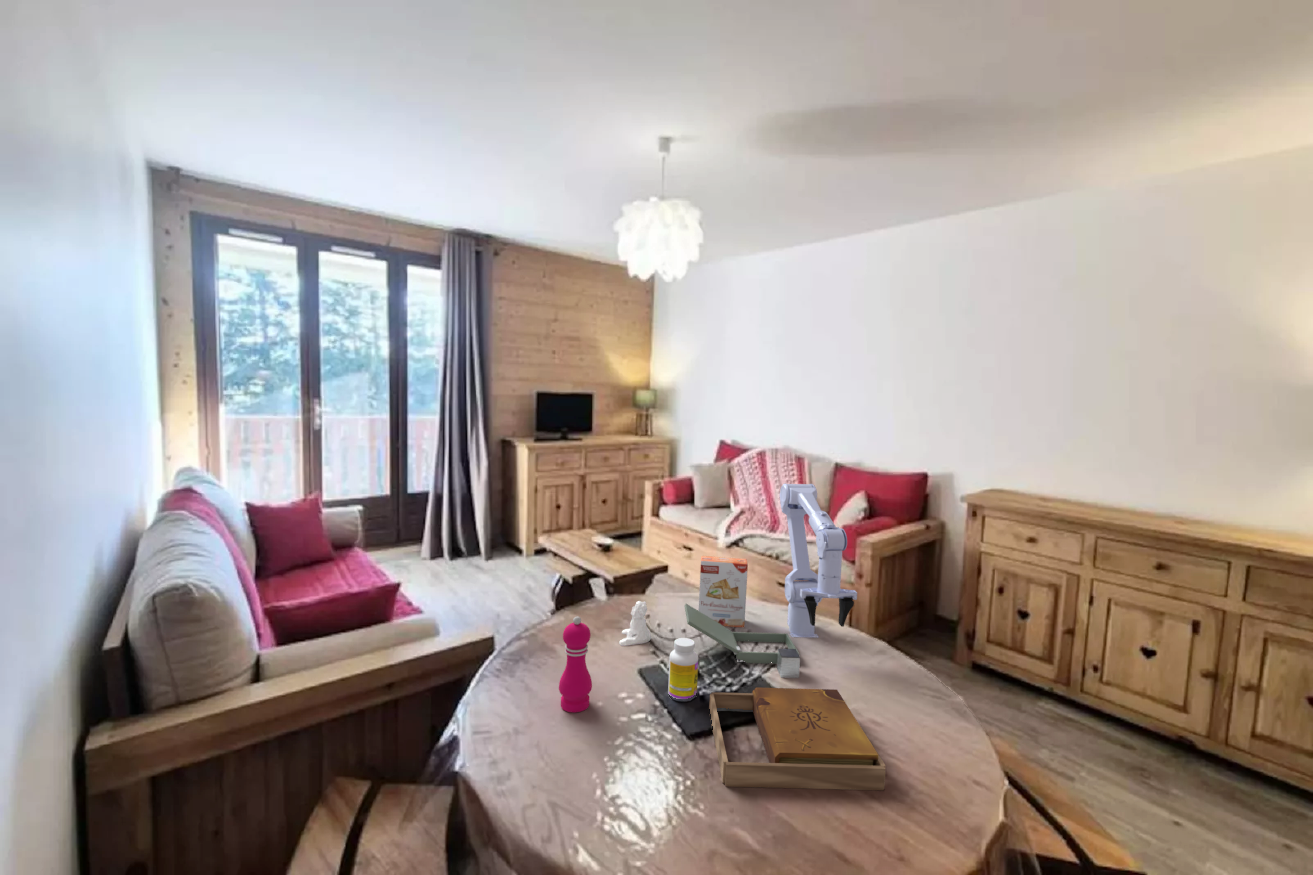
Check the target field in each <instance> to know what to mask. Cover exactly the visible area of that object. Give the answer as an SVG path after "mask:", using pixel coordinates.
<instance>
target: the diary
mask: <svg viewBox="0 0 1313 875" xmlns="http://www.w3.org/2000/svg"><path fill="white" fill-rule="evenodd" d="M751 693H753V716H754V719H755V723H756V725H757V728H758V731H759V735H760V737H761V741H762V743H763V747H764V749H765V750H764V751H765V754H766V756H767V760H768V763H790V764H830V765H870V766H873V760H878V755H879V753H878V751H877V750H876V749H874V748H875V747H874V745H873V743H872V742H871V741H870V739H869V738H867V737H868V736H867V734H866V732H864V730H863V728H862V726H861V724H859V722H858V721H857V718H856V717H855V716H854V714H853V712H852V711H851V709H850V708H849V706H848V705H847V703H846V701H845V699H844V698H843V697H842V695H841V694H840V692H839V690H838V689H834V688H833V689H829V688H828V689H827V688H797V687H796V688H793V687H792V688H787V687H784V688H783V687H758V686H757V687H755V688H754V689H753V690H752V692H751ZM865 734H866V735H865ZM872 745H873V746H872ZM876 751H877V752H876ZM877 753H878V754H877Z"/></svg>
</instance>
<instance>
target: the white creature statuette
mask: <svg viewBox="0 0 1313 875" xmlns="http://www.w3.org/2000/svg"><path fill="white" fill-rule="evenodd" d="M647 611H648V606H647V602H646V601H645V600H644V601H641V600H638V601H636V602H635V604H634V606H632V607H631V612H630V615H631V621H630V623H629V628H625V629H623V630H622V631H621V634H622V635H625V636H626V637H624V638H622V639H620V640H619V642H618V643H619V645H620V646H622V647H624V646H625V647H627V646H635V645H639V644H640V645H641V644H646V643H649V641H650V640H651V639H652V633H651V630H650V629H649V627H648V626H647V622H646V621H647V620H646V618H645V616H646V613H647Z"/></svg>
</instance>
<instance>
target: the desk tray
mask: <svg viewBox="0 0 1313 875" xmlns="http://www.w3.org/2000/svg"><path fill="white" fill-rule="evenodd" d="M710 692H711V691H710ZM708 704H709V706H708V710H709V709H710V714H711V719H710V721H711V720H712V724H711V727H712V726H713V730H712V733H713V739H714V744H715V746H714V747H715V751H716V755H717V761H718V768H719V772H720V777H721V782H722V784H724V785H725V787H726V788H727V787H728V788H729V787H732V788H734V787H735V788H768V789H770V788H774V789H778V788H779V789H809V790H810V789H815V790H817V789H818V790H850V791H851V790H854V791H855V790H856V791H858V790H859V791H863V790H864V791H885V783H886V767H887V766H886V764H885V763H884V761H883V760H882V758H881V756H880V755H879V753H878V751H877V750H876V749H875V747H874V745H873V744H872V746H873V747H874V749H875V750H876V752H877V754H878V760H873V766H870V765H830V764H790V763H769V762H745V761H743V762H739V761H738V762H737V761H729V760H728V755H727V751H726V746H725V742H724V741H725V740H724V736H723V732H722V728H721V724H720V718H719V714H718V713H719V712H717V708H726V709H728V708H729V709H743V710H753V693H752V692H751V693H750V692H744V693H743V692H714V691H713V692H711V693H710V694H709V703H708ZM710 714H709V715H710ZM865 735H866V736H867V734H866V733H865ZM867 738H868V736H867ZM868 739H869V738H868Z"/></svg>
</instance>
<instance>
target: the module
mask: <svg viewBox="0 0 1313 875" xmlns="http://www.w3.org/2000/svg"><path fill="white" fill-rule="evenodd" d="M796 649H797V648H796ZM796 649H788V648H777V653H778V654H777V664H776V669H777V672H778V674H779V677H780V678H781V679H782V678H784V679H785V678H786V679H800V668H801V667H800V665H801V664H800V663H801V656H800V653H799V652H798V653H799V654H798V653H797V651H798V650H797V651H796Z"/></svg>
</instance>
